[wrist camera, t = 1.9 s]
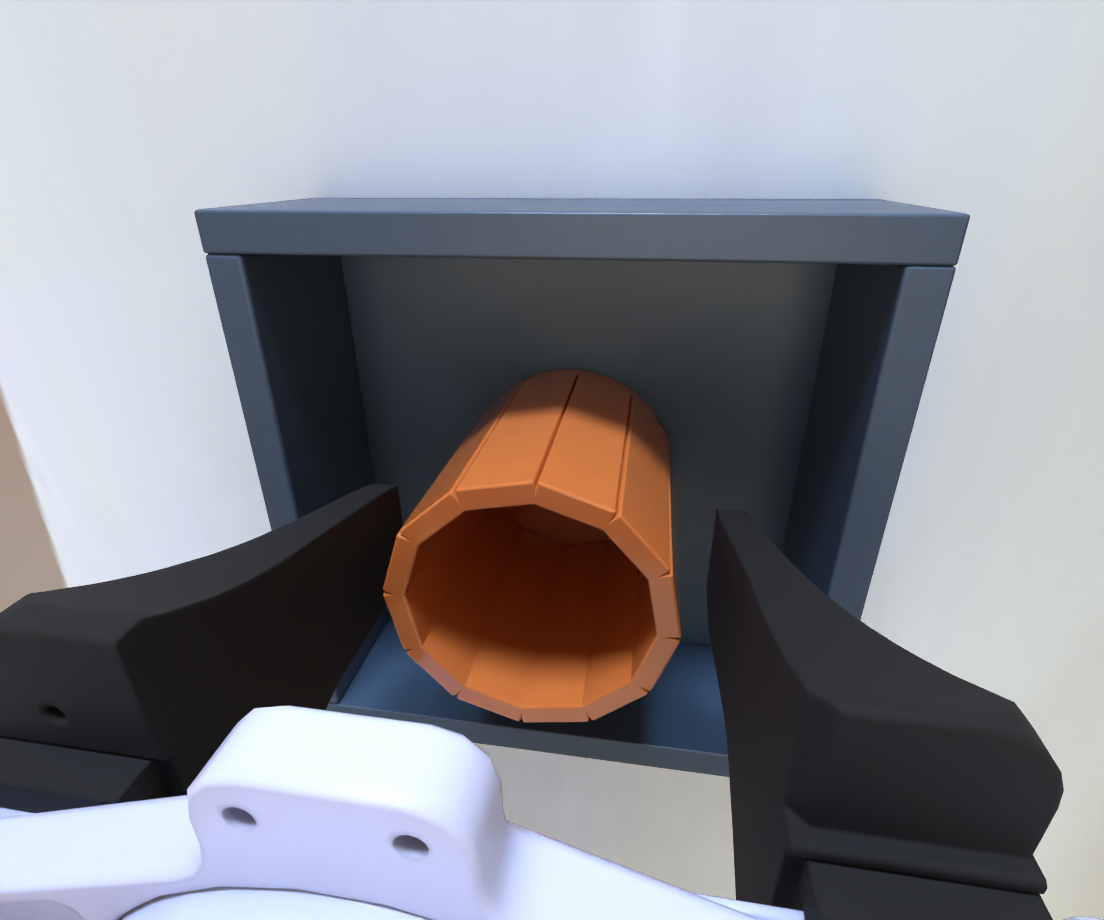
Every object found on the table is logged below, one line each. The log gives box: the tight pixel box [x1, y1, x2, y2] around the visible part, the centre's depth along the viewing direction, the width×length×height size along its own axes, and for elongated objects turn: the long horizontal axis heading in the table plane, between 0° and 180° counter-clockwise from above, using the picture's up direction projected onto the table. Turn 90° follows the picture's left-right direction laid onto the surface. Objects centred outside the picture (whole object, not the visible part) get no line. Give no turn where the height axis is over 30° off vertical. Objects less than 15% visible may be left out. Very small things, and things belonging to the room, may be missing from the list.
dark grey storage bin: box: [195, 198, 970, 777], centre depth 16 cm, size 14×14×4 cm
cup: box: [383, 369, 682, 723], centre depth 14 cm, size 6×6×6 cm
